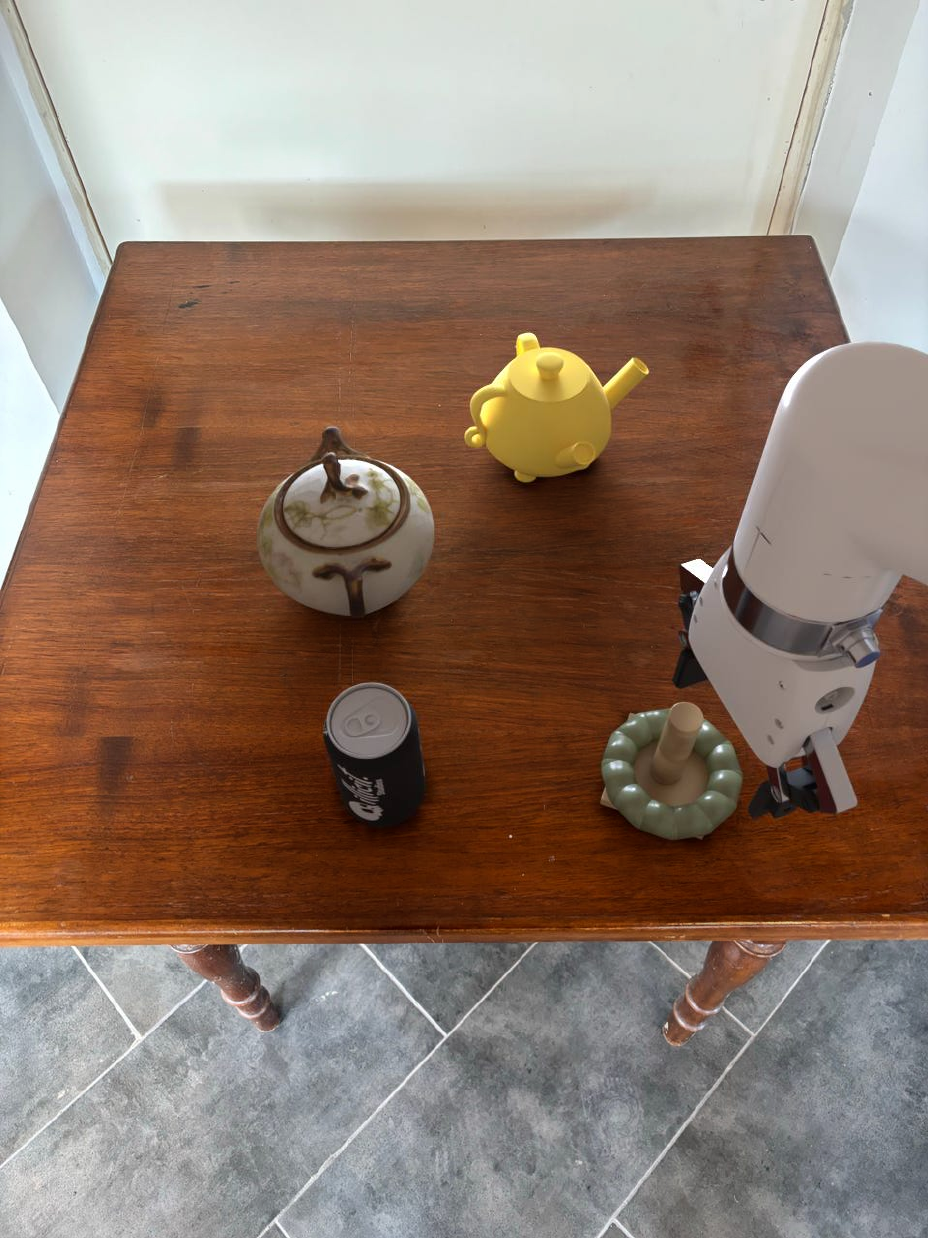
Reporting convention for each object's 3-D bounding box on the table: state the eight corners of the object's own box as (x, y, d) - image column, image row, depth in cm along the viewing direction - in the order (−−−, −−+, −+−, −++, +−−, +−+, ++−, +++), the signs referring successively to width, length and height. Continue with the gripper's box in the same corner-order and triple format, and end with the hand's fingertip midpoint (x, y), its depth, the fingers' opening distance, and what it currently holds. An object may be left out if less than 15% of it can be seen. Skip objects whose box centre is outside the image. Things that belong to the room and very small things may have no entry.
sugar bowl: (265, 507, 90) (230, 388, 78) (420, 485, 91) (409, 364, 79) (280, 683, 79) (242, 578, 67) (455, 655, 81) (449, 546, 68)
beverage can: (438, 813, 73) (431, 743, 63) (357, 843, 71) (336, 777, 61) (409, 741, 76) (398, 664, 66) (331, 769, 75) (308, 695, 65)
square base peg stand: (725, 750, 75) (755, 687, 67) (701, 840, 71) (730, 785, 63) (628, 718, 77) (645, 653, 69) (599, 804, 73) (614, 746, 64)
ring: (749, 742, 74) (757, 728, 72) (720, 863, 69) (727, 851, 67) (621, 702, 77) (625, 687, 75) (584, 815, 71) (587, 803, 69)
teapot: (580, 524, 88) (592, 439, 79) (453, 473, 92) (450, 386, 83) (640, 427, 95) (657, 338, 86) (520, 383, 99) (524, 294, 90)
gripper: (982, 701, 42) (859, 841, 56) (777, 441, 51) (716, 617, 65) (836, 756, 41) (748, 886, 55) (653, 479, 50) (618, 651, 64)
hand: (731, 740), depth 60 cm, fingers open, 9 cm apart
